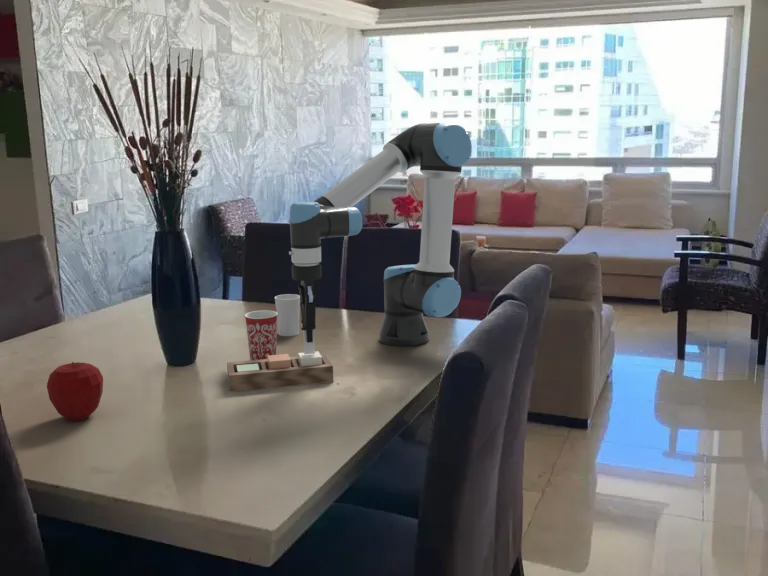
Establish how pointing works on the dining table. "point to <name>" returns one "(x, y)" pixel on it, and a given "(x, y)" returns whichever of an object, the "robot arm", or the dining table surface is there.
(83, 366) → the apple
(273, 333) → the mug
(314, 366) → the wooden compartment tray
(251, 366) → the key sage
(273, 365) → the key terracotta
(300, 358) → the key ivory
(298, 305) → the cup
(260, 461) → the dining table surface
